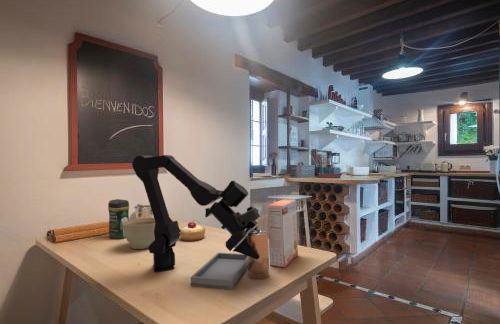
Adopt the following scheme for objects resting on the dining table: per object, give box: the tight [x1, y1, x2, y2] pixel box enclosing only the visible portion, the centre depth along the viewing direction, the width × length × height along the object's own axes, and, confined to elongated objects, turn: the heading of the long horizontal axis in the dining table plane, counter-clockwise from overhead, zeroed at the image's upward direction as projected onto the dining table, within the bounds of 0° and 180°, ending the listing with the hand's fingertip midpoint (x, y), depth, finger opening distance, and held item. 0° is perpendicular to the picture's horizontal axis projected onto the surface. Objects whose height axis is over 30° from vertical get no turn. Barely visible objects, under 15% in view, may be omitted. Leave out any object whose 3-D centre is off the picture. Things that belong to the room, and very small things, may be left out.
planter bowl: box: [122, 217, 155, 250], centre depth 121 cm, size 16×16×11 cm
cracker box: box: [267, 198, 299, 268], centre depth 100 cm, size 14×6×21 cm, turn 152°
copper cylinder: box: [247, 228, 270, 280], centre depth 87 cm, size 6×6×14 cm
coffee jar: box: [107, 198, 130, 240], centre depth 137 cm, size 10×8×19 cm
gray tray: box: [190, 252, 249, 291], centre depth 90 cm, size 13×22×2 cm, turn 166°
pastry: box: [180, 219, 206, 242], centre depth 132 cm, size 12×12×9 cm
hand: (261, 253), depth 87 cm, fingers open, 9 cm apart
